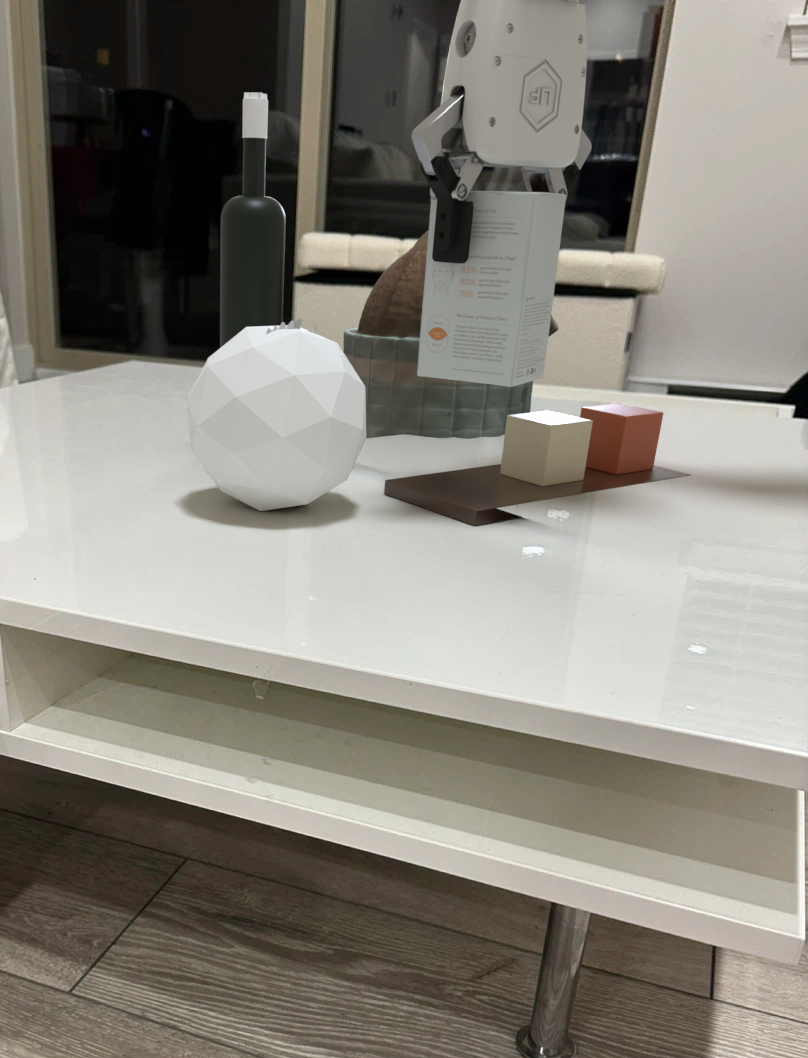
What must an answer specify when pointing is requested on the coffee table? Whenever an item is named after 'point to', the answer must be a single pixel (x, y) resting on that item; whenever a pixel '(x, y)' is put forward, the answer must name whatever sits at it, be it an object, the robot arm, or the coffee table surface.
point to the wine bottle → (252, 237)
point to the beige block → (545, 447)
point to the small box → (494, 292)
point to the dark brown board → (502, 490)
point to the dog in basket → (392, 361)
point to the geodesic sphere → (277, 416)
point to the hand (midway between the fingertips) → (492, 260)
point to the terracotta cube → (622, 438)
